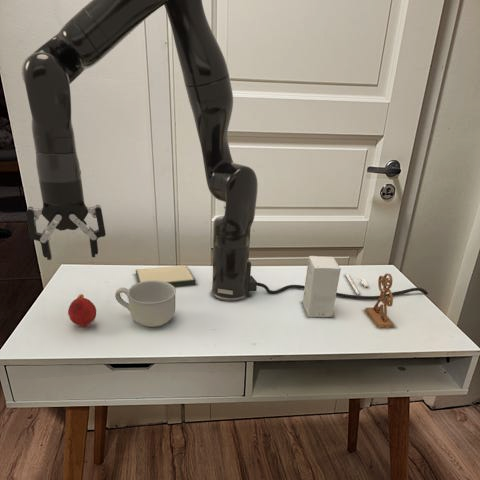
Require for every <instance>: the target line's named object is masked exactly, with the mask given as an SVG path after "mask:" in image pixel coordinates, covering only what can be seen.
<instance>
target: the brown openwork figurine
mask: <svg viewBox="0 0 480 480" xmlns="http://www.w3.org/2000/svg"><path fill="white" fill-rule="evenodd" d="M393 281H394V280H393V276H392V274H391V273H385V274H383V275H379V277H378V279H377V285H378V290H379V292H380V293H379V296H380V297H379V299H377V302H376V303H375V304H374V306H372V307H368V306H367V307H365V309H364V312H365V313H366V314H367V316H368V318H370V319H371V321H372V322H373V323H374V324H375V325H376V327H377V328H378V329H393V328H394V326H395V323H394V322H393V321H392V320H391V318H390V317H388V307H390V308H391V307H393V303H394V296H393V295H392V291H391V288H392V286H393ZM385 294H389V295H390V297H389V296H386V297H385ZM380 303H381V304H380ZM379 304H380V305H379Z"/></svg>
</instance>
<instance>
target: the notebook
mask: <svg viewBox="0 0 480 480" xmlns="http://www.w3.org/2000/svg"><path fill="white" fill-rule="evenodd" d="M135 276H136V279H137V283H139V282H143V281H151V280H154V281H164V282H167V283H169V284H171V285H172V286H174V288H177V287H189V286H196V284H197V283H196V281H197V280H196V279H195V277H194V275H193V273H192V272H191V270H190V268H189V267H188V265H187V264H186V265H185V264H184V265H174V266H161V267H160V266H159V267H149V268H136V269H135Z"/></svg>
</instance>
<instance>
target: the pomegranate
mask: <svg viewBox="0 0 480 480" xmlns="http://www.w3.org/2000/svg"><path fill="white" fill-rule="evenodd" d="M67 314H68V316H69V320H70V321H71V323H73V324H74V325H76V326H78V327H81V328H87V327H88V326H89V325H90V324H92V323H93V322H94V321H95V319H96V317H97V308H96V306H95V304H94V302H92V301H91V300H90V299H88V298H86V297H85V295H84V294H83V293H80V294H78V295H77V297H76V298H75V299H74V300H72V301H71V303H70V304H69V307H68V310H67Z"/></svg>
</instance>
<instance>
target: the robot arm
mask: <svg viewBox="0 0 480 480" xmlns="http://www.w3.org/2000/svg"><path fill="white" fill-rule="evenodd" d="M162 7H164V8H165V11H166V15H167V18H168V21H169V25H170V27H171V31H172V36H173V40H174V44H175V48H176V53H177V58H178V61H179V65H180V69H181V73H182V78H183V83H184V87H185V90H186V94H187V98H188V101H189V105H190V109H191V111H192V112H191V113H192V116H193V119H194V123H195V128H196V133H197V136H198V140H199V144H200V149H201V154H202V161H203V167H204V173H205V180H206V185H207V188H208V191H209V193H210V194H211V196H212V197H213V198H214V199H216V200H218V201H220V202H222V203H225V208H224V214H223V215H220V216H217V217H215V219H214V220H213V224H212V225H213V229H212V230H213V231H212V285H211V288H212V289H211V295H212V296H213V297H214V298H216V299H218V300H221V301H226V302H235V301H240V300H243V299H245V298H247V297H248V298H249V297H250V293H251V292H257V288H258V287H261V288H263V289H264V290H265V291H266V293H268V294H271V295H276V294H279V293H282V292H284V291H287V290H289V289H302V290H304V288H305V285H302V284H289V285H285V286H283V287H281V288H278V289H277V290H271V289H270V288H269V286H268V285H266V284H265V283H263V282H259V281H257V280H256V279H255V277H254V276H253V275H252V262H251V261H250V260H249V259H250V244H251V230H252V229H251V228H252V225H253V223H254V220H255V215H256V206H257V198H258V186H259V185H258V178H257V174H256V172H255V171H254V169H253V168H251V167H250V166H247V165H245V164H239V163H235V162H234V160H233V158H232V153H231V149H230V145H229V139H228V138H229V137H228V135H229V127H230V124H231V123H230V122H231V119H232V113H233V109H234V93H233V87H232V83H231V78H230V72H229V68H228V64H227V61H226V58H225V56H224V53H223V51H222V49H221V47H220V45H219V43H218V41H217V39H216V37H215V35H214V32H213V29H211V26H210V24H209V21H208V19H207V16H206V12H205V9H204V5H203V0H91V1H89V2H88V3H87V4H86V5H84V6H83V7H82V8H81V9H80V10H79V11H77V13H76V14H74V15H73V16H72V17H71V18H70V19H69V20H68V21H67V22H66V23H65V24H64V25H63V26H62V27H61V28H60V30H59V31H58V32H57V34H55V35H54V36H52V37H51V38H50V39H49V40H47V41H46V42H45V43H44V44H42V45H41V46H40V47H38V48H37V49H36V50H35V51H33V53H31V54H29V56H27V57H26V58H25V59H24V61H23V63H22V65H21V77H22V80H23V83H24V86H25V90H26V91H25V92H26V96H27V101H28V105H29V110H30V114H31V132H32V139H33V146H34V151H35V164H36V171H37V177H38V184H39V189H40V195H41V200H42V201H41V202H42V208H34V207H33V206H28V207H27V209H26V212H25V214H26V221H27V222H26V223H27V229H28V237H29V240H31V241H36V242H39V243H40V247H41V251H42V252H41V253H42V256H43V258H46V259H47V261H52V259H53V257H52V255H53V254H52V251H51V250H52V249H51V245H50V244H51V243H50V239H49V238H50V237H51V236H52V234H53V233H54V231H55V230H58V231H60V232H61V231H65V230H70V231H75V230H76V231H77V230H78V229H80V230H81V231H82V233H84V234H86V235H87V237H88V238H89V246H90V253H91V258H96V255H99V246H98V239H100V238H104V237H106V235H107V234H106V227H105V223H104V222H105V221H104V217H103V212H102V211H103V210H102V206H101V205H100V204H96V205H95V206H87V205H86V203H85V197H84V189H83V182H82V181H83V180H82V170H81V166H80V161H79V156H78V152H77V146H76V137H75V130H74V127H73V120H72V95H71V84H72V83H73V82H74V81H75V80H76V79H77V78H78V77H79V76H80V75H82V73H84V72H85V71H87V70H88V69H91V68H92V67H93V66H95V65H97V64H98V63H99V62H100V61H101V60H103V59H104V58H105V57H106V56H107V55H108V54H109V53H111V51H112V50H114V49H115V48H116V47H117V46H118V45H119V44H120V43H122V41H123V40H125V39H126V38H127V37H128V36H129V35H130V34H131V33H132V32H133V31H134V30H135V29H137V27H139V26H140V25H141V24H142V23H143V22H145V20H147V19H148V18H149V17H150V16H151V15H153V14H154V13H155V12H156V11H158V10H159V9H161V8H162ZM89 214H90V215H91V217H92V218H94V219H96V223H97V229H96V230H95V229H93V227H91V226H90V223H88V222H87V221H86V218H87V217H88V215H89ZM40 216H43V218H44V219H45V220H46V221H47V222H48V223H47V224H46V225H45V228H44V229H43V231H42V232H38V230H37V229H38V228H37V221H38V220H39V219H40ZM391 292H392V291H391ZM413 292H421V293H423V294H424V295H429V292H428V291H427V290H426V289H425V288H422V287H411V288H408V289H404V290H399V291H398V290H397V291H393V292H392V295H393V297H394V296H399V295H404V294H408V293H413ZM386 296H389V298H390V295H389V293H387V294H385V297H386ZM336 297H341V298H346V299H353V300H379V297H380V295H358V294H347V293H342V292H341V293H340V292H337V293H336Z"/></svg>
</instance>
